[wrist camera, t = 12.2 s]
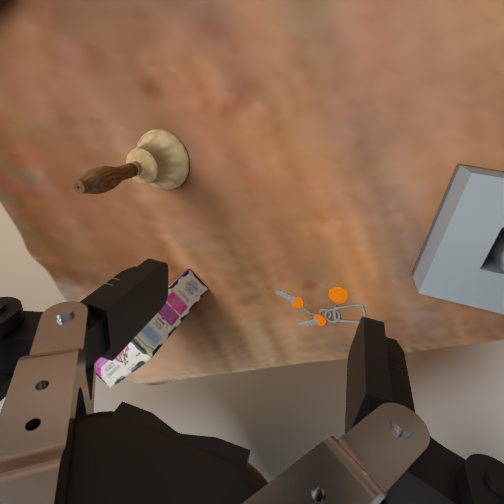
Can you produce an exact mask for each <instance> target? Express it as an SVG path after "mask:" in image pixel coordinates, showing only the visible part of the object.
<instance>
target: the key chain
mask: <svg viewBox="0 0 504 504" xmlns="http://www.w3.org/2000/svg"><path fill="white" fill-rule="evenodd" d="M276 294H277V295H279V296H281V297H283V298H285V299H287V300H289V301H290V302H291V304H292V306H293V307H295V308H301V307H302V308H303V309H304V310H305V311H306V312H308V310H306V309H305V308H304V306H303V304H304V301H303V299H302V298H300V297H298V296H296V297H293V296H291V295H290V296H289V294H288V293H286V294H285V292H281V290H277V291H276ZM329 298H330V299H331V300H332V301H333V302H335V303H337V304H336V305H338V304H339V303H343V302H345V301H346V300H347V298H348V293H347V291H346V290H345V289H343V288H341V287H335V288H332V289H331V290H330V291H329ZM336 305H335V307H334V308H333V309H329V310H328V309H321V310H320V311H319V314H313V313H310V312H308V313H309V314H311V315H314V316H313V317H314V318H313V319H312V320H308V321H304V322H300V323H298V325H299V326H307V325H308V326H310V325H311V324H312V325H315V324H316V325H318V326H323V325H325V324H326V322H327V321H328V322H330V323H336V322H338V321H339V322H348V323H359V322H360V321H352V320H341V319H340V313H339V312H338V311H337V310H339V308H346V307H352V306H360V307H361V308H362V311H363V317H366V312H365V309H364V306H363V305H362V304H356V305H349V306H341V307H339V306H338V307H336ZM321 311H326V312H325V317H324V316H322V315H321ZM330 311H333V316H334V320H335V321H330V320H329V318H330V317H331V316H332V314H331V312H330ZM328 312H329V313H330V316H329V317H327V313H328ZM336 313H337V314H338V318H336ZM326 320H327V321H326Z"/></svg>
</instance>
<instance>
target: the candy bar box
mask: <svg viewBox="0 0 504 504" xmlns="http://www.w3.org/2000/svg"><path fill="white" fill-rule="evenodd" d="M207 290H208V288H207V287H206V286H205V285H204V284H203V283H202V282H201V281H200V280H199V279H198V277H197V276H196V275H195V274H194V273H193V272H192V271H191V270H190V269H188V270H186V271H185V272H184V273H183V274H182V275H181V276H179V277H178V278H177V279H176V280H175V281H174V282H172V283H171V284H170V285H169V286H168V298H167V301H166V303H165V305H164V307H163V308H162V309H161V310H160V311H159V312H158V313H157V314H156V315H155V316H154V318H153V319H152V320H151V321H150V322H149V323H148V324H147V325H146V326H145V327H144V328H143V329H142V330H141V331H140V332H139V333H138V335H137V336H136V337H135V338H134V339H133V340H132V341H131V342H130V343H129V344H128V345H127V346H126V347H125V348H124V349H123V351H122V352H121V353H120V354H119V355H118V356H117V357H116V358H115V359H114V360H113V361H110V360H108V359H105V358H102V357H100V358H99V359H98V360H97V361H96V375H97V376H98V377H99V378H100V379H102V380H103V381H104V382H105V383H106V384H107V385H108V386H109V387H110V388H112V387H113V386H114V385H116V384H117V383H119V382H120V381H121V380H123V379H124V378H126V377H127V376H128V375H130V374H131V373H132V372H134V371H135V370H137V369H138V368H139V367H141V366H142V365H143V364H145V363H146V362H147V361H149V360H150V359H151V358H152V357H153V356H154V354H155V353H156V352H157V351H158V349H159V348H160V347H161V346H162V345H163V343H164V342H165V341H166V340H167V338H168V337H169V336H170V335H171V334H172V332H173V331H174V330H175V329H176V328H177V326H178V325H179V324H180V323H181V322H182V320H183V319H184V318H185V317H186V315H187V314H188V313H189V312H190V310H191V309H192V308H193V307H194V306H195V304H196V303H197V302H198V301H199V300H200V298H201V297H202V296H203V295H204V293H205V292H206V291H207Z"/></svg>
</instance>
